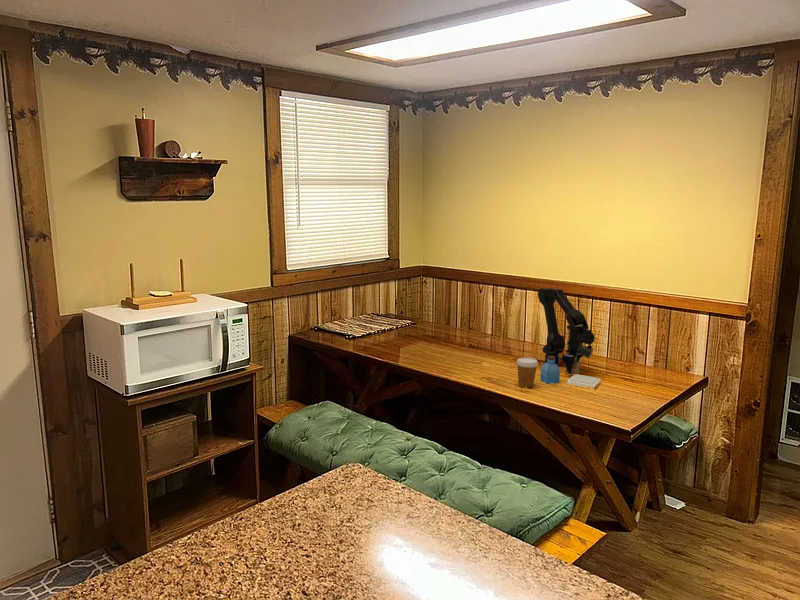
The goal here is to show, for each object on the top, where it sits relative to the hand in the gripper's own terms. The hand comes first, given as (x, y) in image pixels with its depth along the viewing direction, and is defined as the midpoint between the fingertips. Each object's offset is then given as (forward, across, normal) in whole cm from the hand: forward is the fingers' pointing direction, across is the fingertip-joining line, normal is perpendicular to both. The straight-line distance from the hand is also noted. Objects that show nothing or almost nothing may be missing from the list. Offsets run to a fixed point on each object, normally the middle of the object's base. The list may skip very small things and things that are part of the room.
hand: (572, 371), depth 297 cm
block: (+1, 0, 0) cm, 1 cm away
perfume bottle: (+2, -19, +5) cm, 20 cm away
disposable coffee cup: (+2, -31, +12) cm, 33 cm away
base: (+1, -13, -9) cm, 16 cm away
